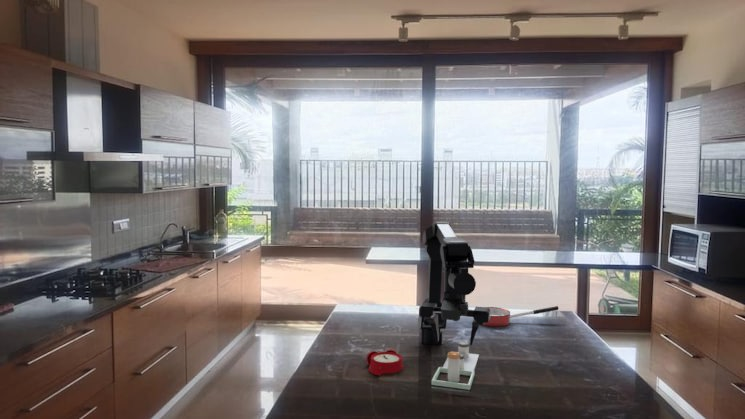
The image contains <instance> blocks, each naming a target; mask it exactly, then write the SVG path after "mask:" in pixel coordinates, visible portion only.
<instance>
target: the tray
mask: <svg viewBox="0 0 745 419" xmlns="http://www.w3.org/2000/svg"><path fill="white" fill-rule="evenodd" d="M441 373H445V374H448V368H444V367H443V366H438V368H437V369H436V371H435V373H434V375H433V377H432V379H431V389H433V390H441V389H442V391H450V392H457V393H462V394H463V393H464V394H470V393H471V391H470V390H471V388H472V384H473V381H474V378H475V370H474V371H469V370H461V369H460V372H459V376H460V375H462V376H467V377H468V376H469V377H470V378H469V380H468V382H467V383H461V382H450V381H448V380H447V381H446V380H439V379H438V377H439V376H440V374H441Z"/></svg>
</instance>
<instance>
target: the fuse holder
mask: <svg viewBox="0 0 745 419" xmlns="http://www.w3.org/2000/svg"><path fill="white" fill-rule="evenodd" d="M457 344H458V345H457V346H458V347H457V348H458V351H457V352H458V353H460V369H461V370H469V371H475V369H476V367H477V362H478V359H479V356H480V354H478V353H470V342H468V341H458V343H457ZM450 352H453V351H450ZM442 367H444V368H448V357H447V358H446V359H445V362H444V364H443V366H442Z"/></svg>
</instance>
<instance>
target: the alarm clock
mask: <svg viewBox="0 0 745 419" xmlns="http://www.w3.org/2000/svg"><path fill="white" fill-rule="evenodd" d="M366 363H367V365H369V366H368V372H369V373H371V374H372V375H374V376H375V375H376V376H379V377H381V375H383V374H394V373H398V372H401V371H402V370H403V369H405V366H404V365H403V364H404V363H403V357H402V355H401V354H399V353H398V352H396V351H395V350H394V349H387V350H386V351H379V352H377V351H374V350H372V351H370V352H368V354H367V355H366Z"/></svg>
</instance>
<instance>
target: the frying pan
mask: <svg viewBox="0 0 745 419" xmlns="http://www.w3.org/2000/svg"><path fill="white" fill-rule="evenodd" d="M487 307H488V308H489V309H490V320H489V322H487V323H485V322H484V325H483V326H486V327H490V328H491V327H492V328H502V327H506V326H508V325H510V322H511V319H512V318H518V317H524V316H530V315H538V314H543V313H549V312H554V311H559V306H558V305H556V306H551V307H543V308H539V309H534V310H532V311H524V312H522V313H521V312H520V313H515V314H511V312H510V310H508V309H505V308H501V307H496V306H495V307H494V306H487Z"/></svg>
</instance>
